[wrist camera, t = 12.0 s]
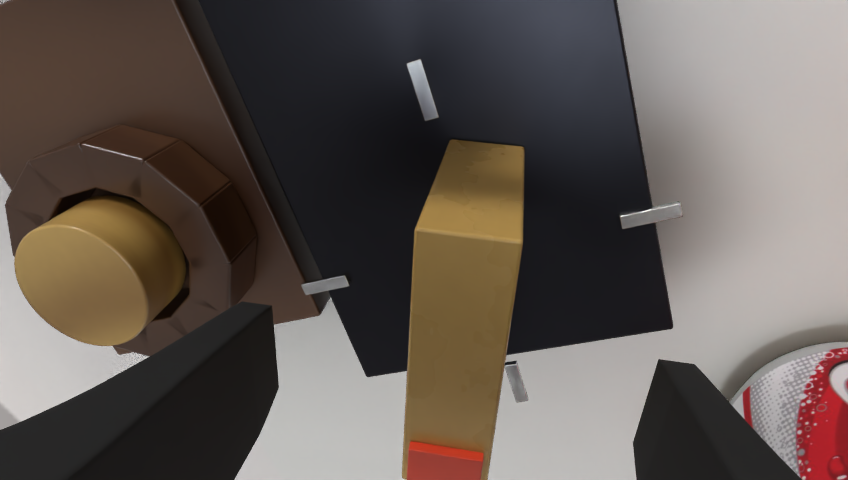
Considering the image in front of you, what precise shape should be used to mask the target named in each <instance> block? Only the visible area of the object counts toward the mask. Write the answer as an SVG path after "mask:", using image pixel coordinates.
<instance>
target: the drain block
mask: <svg viewBox="0 0 848 480" xmlns="http://www.w3.org/2000/svg"><path fill="white" fill-rule="evenodd" d="M0 173H1V175H2V176H3V178H4V179H5V181H6V183H7V184H8V186H9V187H10V189H11V190H12V191H11V193H10V195H9V197H8V199H7V201H6V204H5V208H6V214H7V220H8V227H9V233H10V239H11V245H12V252H13V256H14V257H15V254H16V250H17V248H18V246H19V243H20V242H21V240H22V239H23V238H24V237H25V236H26V235H27V234H28V233H29V232H31V231H32V230H34V229H36V228H37V227H39V226H41V225H42V224H44V223H46V222H48V221H49V220H51V219H53V218H54V217H56V216H58V215H60V214H61V213H63V212H65V211H67V210H68V209H70V208H72V207H73V206H75V205H77V204H79V203H80V202H82V201H84V200H86V199H88V198H91V197H95V196H104V195H109V196H118V197H123V198H126V199H129V200H132V201H134V202H137V203H139V204H141V205H143V206H144V207H146V208H147V209H148V210H149V211H151V212H152V213H153V214H155V215H156V216H157V217H158V218H160V219H161V220H162V221H163V222H165V223H166V225H167V226H168V227H169V228H170V229H171V231H172V232H173V234H174V235H175V237H176V239H177V241H178V243H179V245H180V246H181V248H182V251H183V254H184V257H185V262H186V276H185V280H184V284H183V286H182V289H181V290H180V292H179V293H178V295H177V296H176V297H175V298H174V299H173V300H172V301H171V302H170V303H169V304H168V305H167V306H166V307H165V308H164V309H163V310H162V311H161V312H160V313H159V314H158V315H157V316H156V317H155V318H154V319H153V320H152V321H151V322H150V323H149V324H148V325H147V326H146V327H145V328H144V329H143V330H142V331H141V332H140V333H139V334H138V335H137V336H136V337H134V338H133V339H131V340H129V341H127V342H125V343H122V344H118V345H113V347H114V349H115V350H116V352H117V353H118V354H119V355H121V354H126V353H131V352H135V353H139V354H143V355H146V356H152V355H153V354H155V353H157V352H158V351H160V350H162V349H163V348H165V347H167V346H168V345H170V344H172V343H173V342H175V341H177V340H178V339H180V338H182V337H183V336H185V335H187V334H188V333H190V332H192V331H193V330H195V329H196V328H198V327H200V326H201V325H203V324H204V323H206V322H208V321H209V320H211V319H213V318H214V317H216V316H218V315H219V314H221V313H222V312H224V311H226V310H228V309H229V308H231V307H233V306H235V305H236V304H238V303H240V302H242V301H243V302H250V303H257V304H265V305H272V311H273V323H274V324H279V323H284V322H289V321H294V320H299V319H305V318H310V317H315V316H319V315H320V314H321V313H322V311H323V309H324V308H325V306H326V304H327V302H328V301H329V299H330V297H331V296H330V294H329V292H328V291H323V292H318V293H313V294H309V295H305V293H304V290H303V288H302V286H301V284H302V283H303V282H306V281H311V280H316V279H320V278H322V276H321V274H320V272H319V269H318V267H317V265H316V263H315V261H314V258H313V256H312V254H311V252H310V249H309V247H308V245H307V243H306V240H305V238H304V236H303V234H302V231H301V229H300V227H299V225H298V223H297V220H296V218H295V216H294V214H293V211H292V209H291V207H290V205H289V202H288V200H287V198H286V196H285V193H284V191H283V189H282V187H281V185H280V182H279V180H278V178H277V176H276V173H275V171H274V169H273V167H272V164H271V162H270V160H269V158H268V156H267V153H266V151H265V149H264V147H263V144H262V142H261V140H260V138H259V135H258V133H257V131H256V129H255V126H254V124H253V122H252V120H251V118H250V115H249V113H248V111H247V109H246V106H245V104H244V102H243V100H242V97H241V95H240V93H239V91H238V88H237V86H236V84H235V82H234V80H233V77H232V75H231V73H230V71H229V68H228V66H227V64H226V62H225V59H224V57H223V55H222V53H221V51H220V48H219V46H218V44H217V42H216V39H215V37H214V35H213V33H212V30H211V28H210V26H209V24H208V21H207V19H206V17H205V15H204V13H203V10H202V8H201V6H200V4H199V1H198V0H9V1H7V2H5V3H2V4H0Z"/></svg>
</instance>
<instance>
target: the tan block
mask: <svg viewBox="0 0 848 480" xmlns="http://www.w3.org/2000/svg"><path fill="white" fill-rule="evenodd" d="M524 156H525V149H524V147H522V146H512V145H502V144H492V143H482V142H473V141H463V140H453V139H452V140H450V141H449V144H448V146H447V149H446V151H445V154H444V156H443V159H442V162H441V164H440V167H439V169H438V172H437V174H436V177H435V179H434V182H433V184H432V187H431V189H430V192H429V194H428V197H427V199H426V202H425V205H424V207H423V210H422V212H421V215H420V217H419V220H418V222H417V225H416V227H415V230H414V248H413V267H412V287H411V306H410V326H409V345H408V364H407V384H406V403H405V423H404V442H403V461H402V478H403V479H407V480H487V479H488V473H489V466H490V459H491V453H492V446H493V439H494V433H495V426H496V420H497V413H498V406H499V400H500V393H501V386H502V380H503V373H504V366H505V360H506V353H507V346H508V340H509V333H510V327H511V320H512V313H513V307H514V300H515V293H516V287H517V280H518V273H519V267H520V260H521V253H522V247H523V216H524Z"/></svg>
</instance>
